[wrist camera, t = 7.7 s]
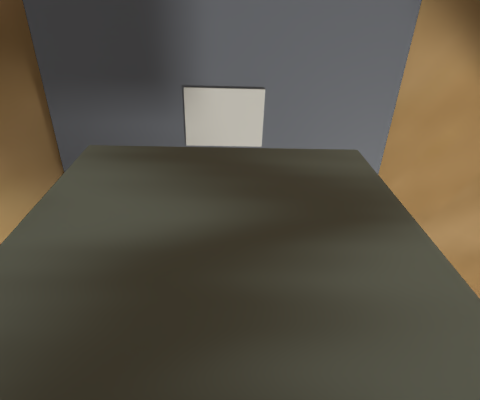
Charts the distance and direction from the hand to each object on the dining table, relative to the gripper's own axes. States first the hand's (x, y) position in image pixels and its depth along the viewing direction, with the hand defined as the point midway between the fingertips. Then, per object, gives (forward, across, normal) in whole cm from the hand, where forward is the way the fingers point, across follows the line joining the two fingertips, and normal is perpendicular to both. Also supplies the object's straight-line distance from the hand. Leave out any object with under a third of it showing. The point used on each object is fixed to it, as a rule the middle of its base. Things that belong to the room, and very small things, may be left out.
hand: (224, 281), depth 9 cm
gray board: (+9, 0, 0) cm, 9 cm away
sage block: (+1, 0, 0) cm, 1 cm away
